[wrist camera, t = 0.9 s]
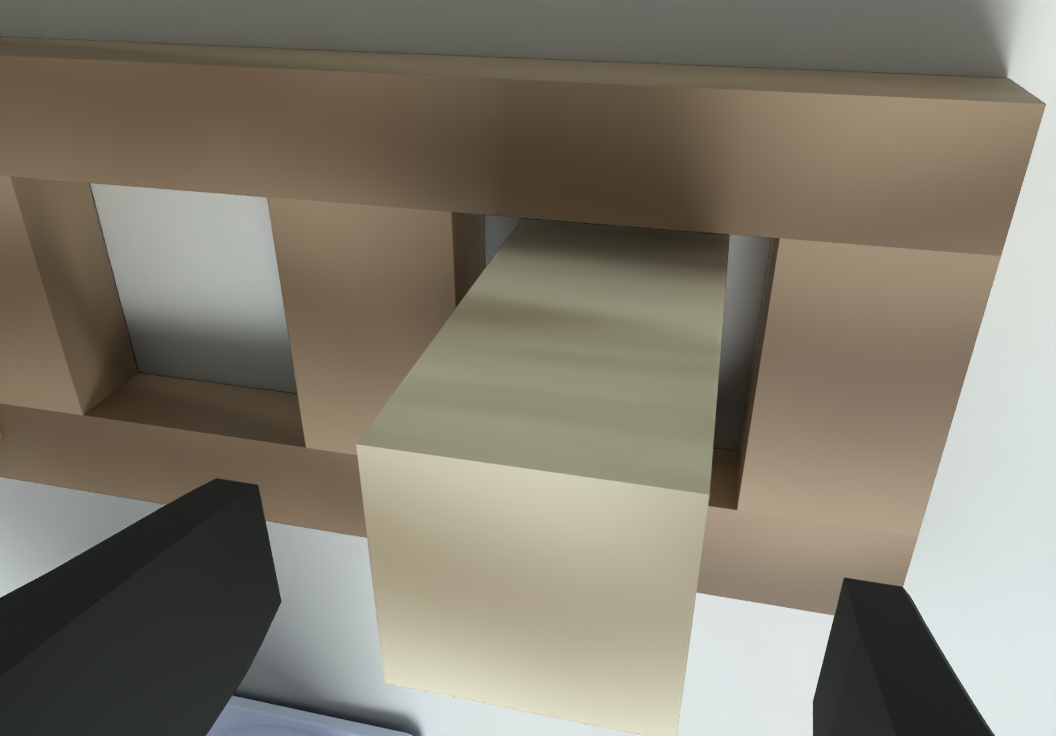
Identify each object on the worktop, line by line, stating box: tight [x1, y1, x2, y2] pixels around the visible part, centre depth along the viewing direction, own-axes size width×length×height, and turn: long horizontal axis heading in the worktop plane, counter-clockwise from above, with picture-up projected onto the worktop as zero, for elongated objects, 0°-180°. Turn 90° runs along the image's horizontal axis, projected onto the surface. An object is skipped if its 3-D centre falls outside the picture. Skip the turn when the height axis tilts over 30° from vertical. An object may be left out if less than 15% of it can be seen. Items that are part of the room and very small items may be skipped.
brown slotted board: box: [0, 37, 1046, 615], centre depth 18 cm, size 10×30×2 cm, turn 90°
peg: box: [356, 219, 730, 736], centre depth 14 cm, size 4×4×8 cm
